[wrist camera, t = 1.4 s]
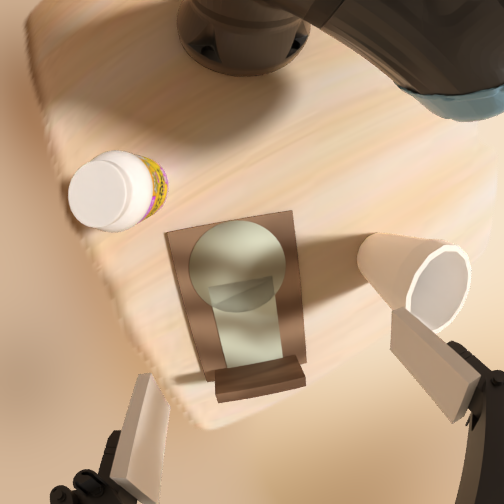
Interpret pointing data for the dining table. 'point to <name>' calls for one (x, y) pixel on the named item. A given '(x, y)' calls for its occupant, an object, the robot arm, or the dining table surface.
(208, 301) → the keyhole board
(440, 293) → the foam cup
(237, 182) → the dining table surface
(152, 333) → the dining table surface
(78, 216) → the supplement bottle
